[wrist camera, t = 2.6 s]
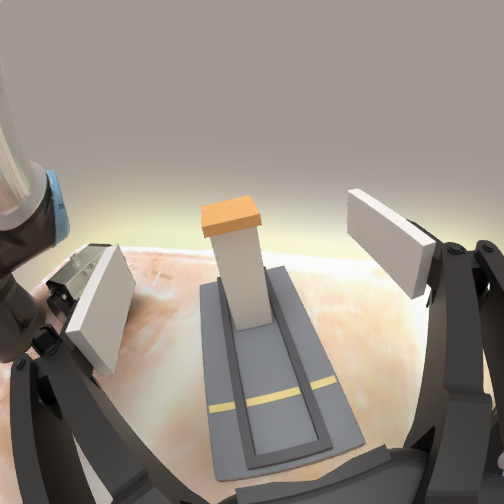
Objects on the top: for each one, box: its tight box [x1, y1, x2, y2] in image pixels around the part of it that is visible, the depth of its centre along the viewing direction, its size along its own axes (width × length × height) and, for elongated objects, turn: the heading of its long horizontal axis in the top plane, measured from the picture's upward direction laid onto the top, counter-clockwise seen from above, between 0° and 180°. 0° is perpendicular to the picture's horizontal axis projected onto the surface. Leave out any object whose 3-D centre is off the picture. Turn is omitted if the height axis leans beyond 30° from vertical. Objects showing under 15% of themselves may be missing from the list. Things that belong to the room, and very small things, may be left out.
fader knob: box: [201, 196, 273, 331], centre depth 27 cm, size 5×5×13 cm
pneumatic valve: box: [46, 244, 127, 324], centre depth 30 cm, size 6×12×12 cm, turn 162°
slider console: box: [200, 266, 366, 482], centre depth 26 cm, size 26×12×2 cm, turn 10°
